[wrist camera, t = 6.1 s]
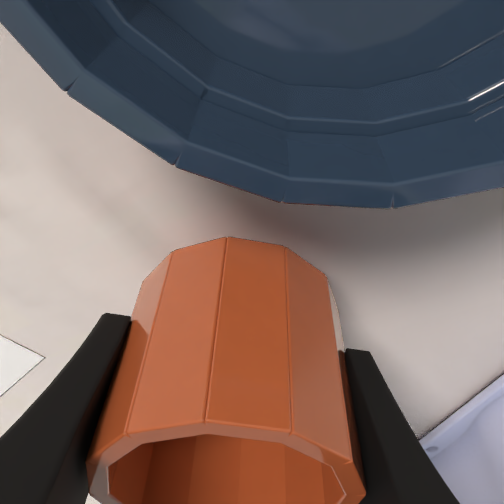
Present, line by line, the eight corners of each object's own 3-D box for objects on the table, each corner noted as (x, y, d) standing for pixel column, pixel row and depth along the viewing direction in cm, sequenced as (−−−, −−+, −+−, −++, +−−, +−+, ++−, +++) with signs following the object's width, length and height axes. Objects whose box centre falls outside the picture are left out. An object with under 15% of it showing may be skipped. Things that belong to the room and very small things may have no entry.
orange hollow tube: (306, 381, 15) (318, 552, 11) (138, 358, 15) (91, 530, 11) (362, 258, 12) (409, 447, 8) (144, 221, 11) (77, 404, 7)
